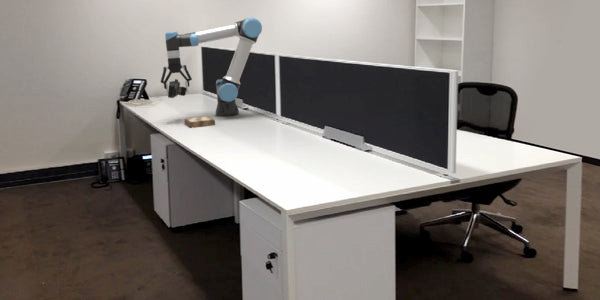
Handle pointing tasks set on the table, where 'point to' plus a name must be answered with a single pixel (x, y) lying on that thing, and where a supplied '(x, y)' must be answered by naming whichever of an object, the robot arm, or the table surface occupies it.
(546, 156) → the table surface
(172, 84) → the camera
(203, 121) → the plinth
